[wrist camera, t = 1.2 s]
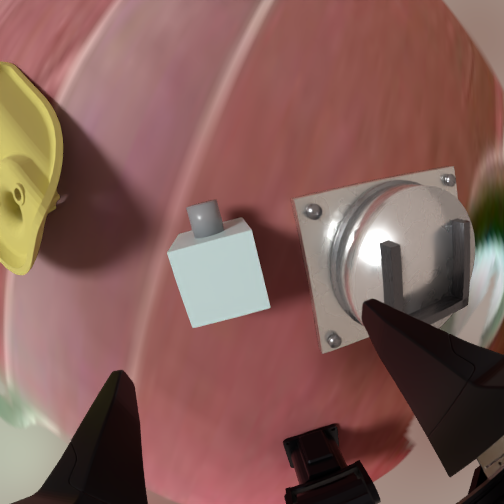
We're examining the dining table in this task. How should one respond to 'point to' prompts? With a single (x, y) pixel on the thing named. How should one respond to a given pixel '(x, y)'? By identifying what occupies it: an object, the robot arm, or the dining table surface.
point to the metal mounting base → (385, 251)
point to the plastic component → (26, 168)
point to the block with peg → (217, 267)
